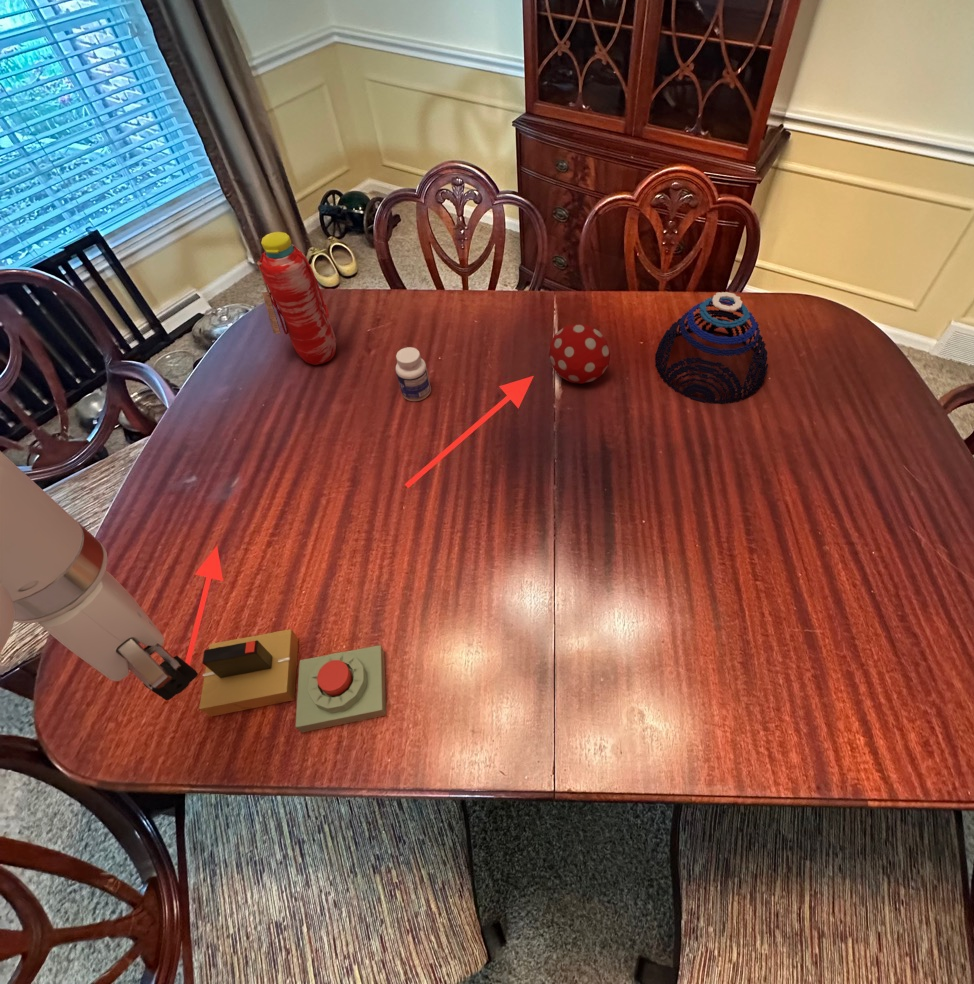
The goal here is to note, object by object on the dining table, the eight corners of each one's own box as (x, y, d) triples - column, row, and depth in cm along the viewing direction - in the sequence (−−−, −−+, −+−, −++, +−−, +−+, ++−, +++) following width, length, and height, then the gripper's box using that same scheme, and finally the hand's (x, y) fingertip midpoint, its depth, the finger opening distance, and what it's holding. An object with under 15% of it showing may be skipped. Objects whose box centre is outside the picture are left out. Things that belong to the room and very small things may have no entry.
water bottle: (274, 368, 113) (218, 249, 94) (288, 340, 118) (238, 222, 99) (337, 371, 112) (293, 251, 93) (349, 343, 117) (309, 224, 98)
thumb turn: (220, 678, 73) (201, 662, 69) (222, 665, 74) (203, 649, 70) (271, 668, 73) (255, 652, 69) (272, 656, 74) (257, 639, 70)
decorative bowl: (641, 385, 109) (652, 321, 98) (670, 321, 120) (682, 257, 109) (754, 416, 103) (778, 352, 92) (772, 345, 115) (795, 281, 104)
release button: (320, 698, 70) (316, 693, 69) (321, 668, 73) (317, 663, 71) (351, 692, 71) (348, 687, 69) (352, 662, 73) (348, 657, 72)
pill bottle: (400, 384, 110) (390, 347, 103) (429, 379, 110) (421, 341, 104) (403, 404, 106) (393, 367, 99) (432, 399, 107) (425, 362, 100)
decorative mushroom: (549, 322, 116) (531, 348, 103) (600, 296, 112) (588, 320, 99) (576, 371, 120) (562, 402, 107) (626, 348, 115) (618, 377, 102)
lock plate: (208, 717, 73) (197, 709, 70) (218, 653, 78) (208, 643, 75) (295, 700, 74) (286, 691, 71) (299, 637, 79) (291, 628, 76)
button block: (301, 732, 71) (289, 722, 68) (304, 666, 76) (294, 654, 73) (386, 715, 72) (379, 705, 69) (384, 651, 78) (377, 638, 74)
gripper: (-55, 540, 47) (76, 630, 60) (41, 680, 40) (166, 746, 53) (44, 481, 51) (147, 577, 64) (148, 598, 44) (240, 679, 57)
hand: (155, 654), depth 59 cm, fingers open, 9 cm apart
